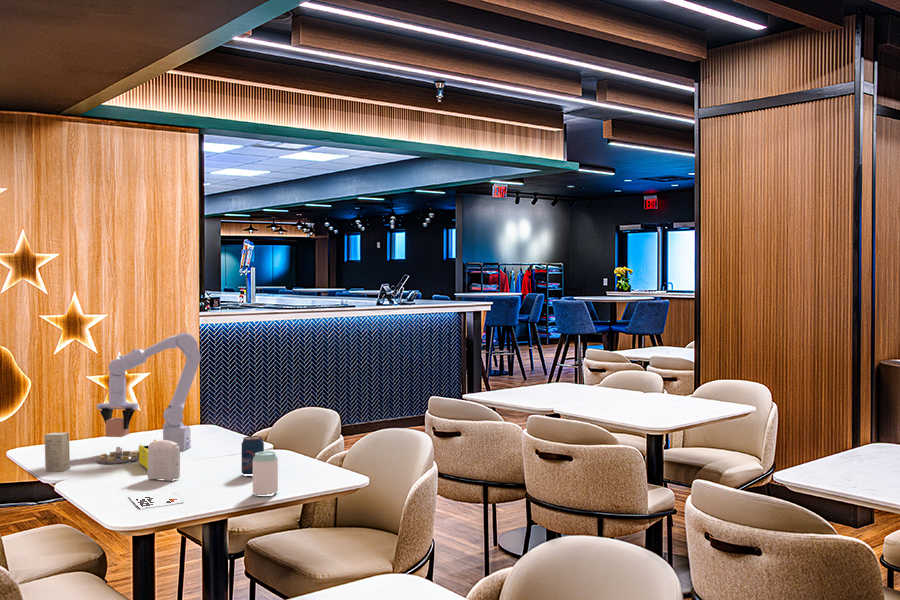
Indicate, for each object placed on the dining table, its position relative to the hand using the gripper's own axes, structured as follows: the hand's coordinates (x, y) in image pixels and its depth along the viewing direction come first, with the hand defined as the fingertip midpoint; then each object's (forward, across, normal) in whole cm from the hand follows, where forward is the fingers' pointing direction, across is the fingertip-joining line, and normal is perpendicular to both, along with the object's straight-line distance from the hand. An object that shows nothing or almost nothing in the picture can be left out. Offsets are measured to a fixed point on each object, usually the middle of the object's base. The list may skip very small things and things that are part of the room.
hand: (117, 428), depth 275 cm
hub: (+9, +6, -11) cm, 15 cm away
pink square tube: (+2, 0, 0) cm, 2 cm away
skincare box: (+9, -7, -27) cm, 29 cm away
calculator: (+10, +42, -63) cm, 76 cm away
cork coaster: (+9, +9, +1) cm, 13 cm away
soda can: (+9, +60, -32) cm, 69 cm away
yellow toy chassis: (+10, +22, -21) cm, 32 cm away
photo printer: (+9, +34, -39) cm, 53 cm away
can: (+9, +71, -56) cm, 91 cm away
